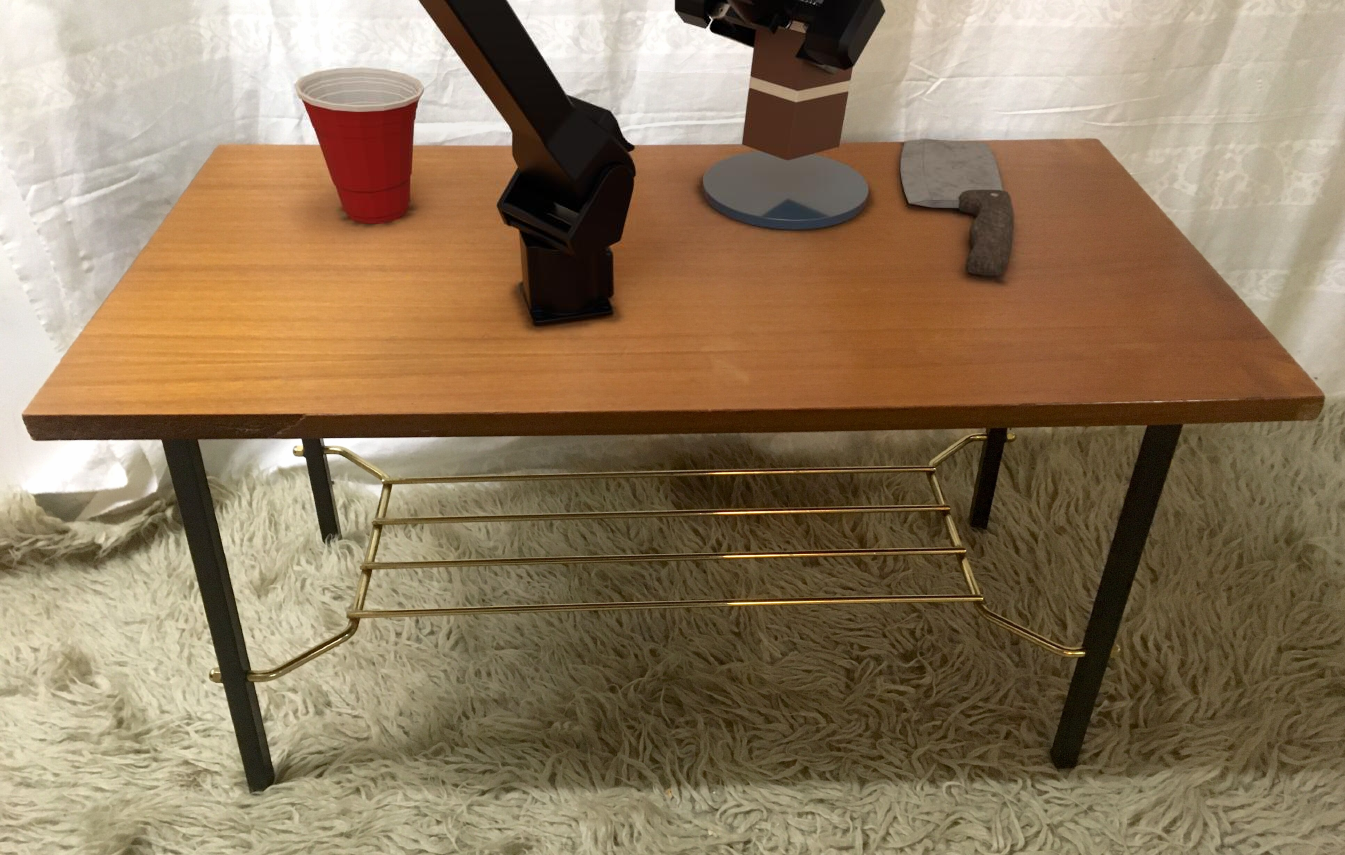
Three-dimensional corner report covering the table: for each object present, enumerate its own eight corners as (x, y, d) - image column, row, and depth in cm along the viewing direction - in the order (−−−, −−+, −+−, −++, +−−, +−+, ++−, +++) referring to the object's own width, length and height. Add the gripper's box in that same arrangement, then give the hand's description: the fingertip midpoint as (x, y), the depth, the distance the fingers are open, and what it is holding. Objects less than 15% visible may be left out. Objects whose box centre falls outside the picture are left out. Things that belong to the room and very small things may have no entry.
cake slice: (787, 161, 96) (809, 9, 89) (741, 144, 99) (759, -4, 92) (839, 147, 101) (864, 2, 94) (794, 131, 104) (815, -10, 97)
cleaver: (1030, 283, 89) (1035, 261, 88) (912, 275, 90) (916, 253, 89) (987, 150, 113) (991, 131, 112) (894, 144, 114) (897, 125, 112)
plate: (734, 239, 95) (735, 229, 95) (681, 168, 107) (681, 158, 107) (896, 218, 99) (897, 208, 98) (827, 152, 111) (828, 143, 111)
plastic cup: (458, 218, 97) (444, 88, 90) (344, 247, 92) (319, 113, 85) (410, 176, 105) (394, 53, 97) (302, 201, 100) (276, 74, 92)
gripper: (889, -121, 78) (943, 6, 91) (700, -154, 88) (773, -35, 101) (814, 11, 78) (878, 118, 91) (633, -37, 88) (715, 66, 101)
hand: (809, 61), depth 96 cm, fingers closed on cake slice, 5 cm apart
